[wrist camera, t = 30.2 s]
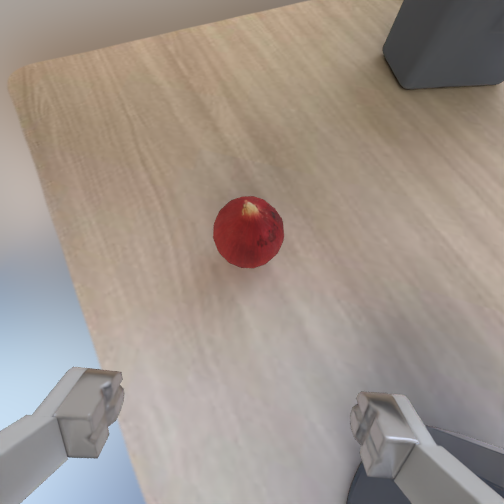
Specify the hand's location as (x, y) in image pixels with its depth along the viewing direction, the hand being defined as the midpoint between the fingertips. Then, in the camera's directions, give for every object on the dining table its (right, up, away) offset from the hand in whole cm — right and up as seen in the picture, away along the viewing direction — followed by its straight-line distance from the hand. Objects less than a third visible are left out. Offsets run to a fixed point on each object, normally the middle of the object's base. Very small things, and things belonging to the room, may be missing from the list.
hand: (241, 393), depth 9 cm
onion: (0, +5, +16) cm, 17 cm away
